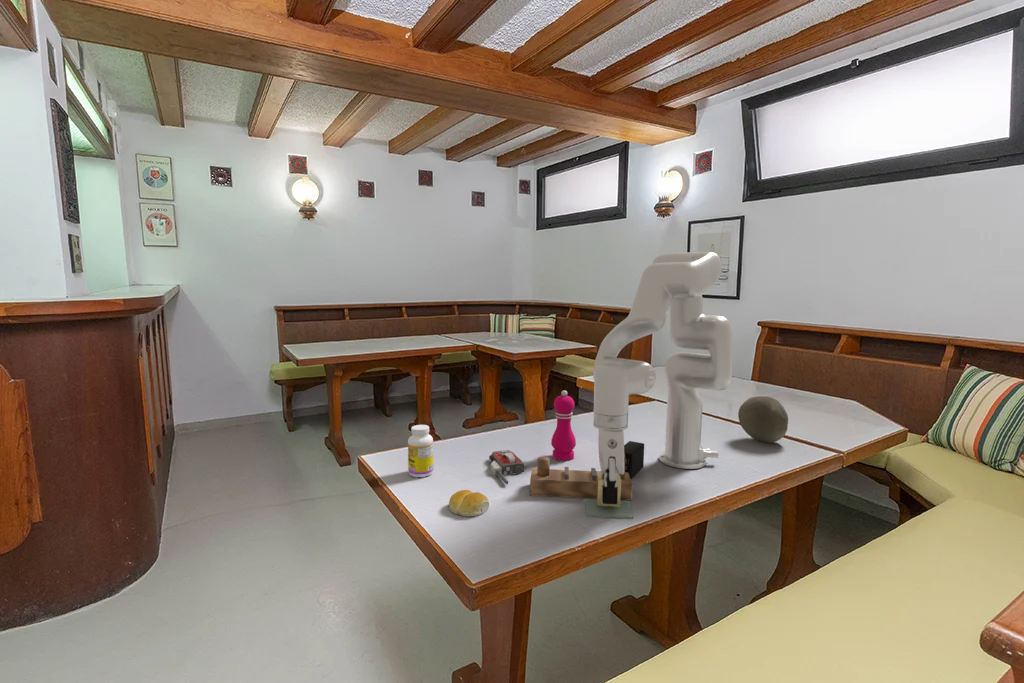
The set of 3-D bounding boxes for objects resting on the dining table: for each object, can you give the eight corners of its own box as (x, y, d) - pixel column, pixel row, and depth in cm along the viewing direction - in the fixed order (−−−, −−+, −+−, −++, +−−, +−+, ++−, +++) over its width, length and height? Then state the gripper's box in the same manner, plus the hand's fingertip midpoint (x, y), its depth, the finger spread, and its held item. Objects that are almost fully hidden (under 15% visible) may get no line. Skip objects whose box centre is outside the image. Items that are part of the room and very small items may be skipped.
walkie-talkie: (482, 461, 142) (502, 488, 123) (482, 446, 141) (502, 471, 122) (511, 458, 144) (535, 484, 126) (511, 443, 144) (535, 467, 125)
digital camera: (624, 463, 140) (625, 439, 139) (643, 467, 137) (644, 443, 136) (611, 475, 131) (612, 449, 130) (631, 479, 128) (632, 453, 127)
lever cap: (617, 498, 113) (619, 470, 112) (619, 506, 108) (621, 478, 108) (595, 496, 113) (597, 469, 112) (597, 505, 109) (598, 476, 108)
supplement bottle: (406, 471, 133) (405, 425, 132) (430, 467, 136) (429, 422, 134) (411, 480, 127) (410, 431, 126) (436, 476, 130) (435, 429, 128)
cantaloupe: (761, 433, 168) (764, 390, 166) (797, 446, 154) (800, 400, 153) (728, 437, 163) (730, 393, 161) (761, 451, 150) (764, 403, 148)
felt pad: (628, 502, 114) (628, 500, 114) (633, 518, 106) (633, 517, 106) (584, 500, 115) (584, 498, 115) (586, 516, 107) (586, 514, 107)
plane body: (627, 487, 123) (628, 449, 121) (631, 500, 116) (633, 459, 114) (531, 483, 125) (532, 445, 124) (530, 495, 118) (530, 455, 117)
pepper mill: (574, 462, 140) (575, 393, 138) (549, 460, 142) (550, 392, 139) (576, 453, 147) (577, 388, 145) (552, 452, 149) (553, 387, 146)
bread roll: (463, 498, 117) (463, 482, 116) (494, 507, 112) (494, 490, 112) (440, 511, 110) (440, 494, 110) (472, 521, 105) (472, 504, 105)
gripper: (633, 431, 100) (630, 516, 102) (623, 410, 116) (621, 484, 119) (596, 430, 101) (594, 515, 103) (591, 409, 117) (589, 482, 119)
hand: (608, 497), depth 111 cm, fingers closed on lever cap, 4 cm apart
